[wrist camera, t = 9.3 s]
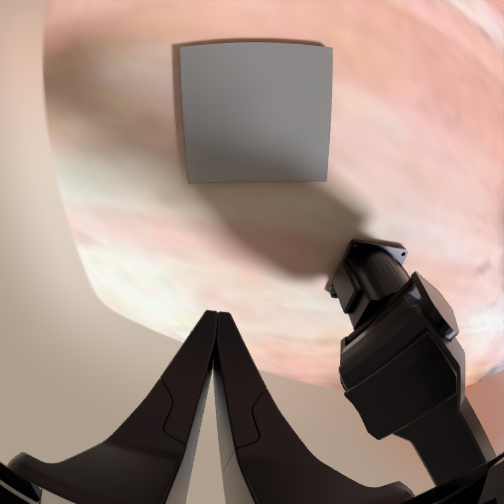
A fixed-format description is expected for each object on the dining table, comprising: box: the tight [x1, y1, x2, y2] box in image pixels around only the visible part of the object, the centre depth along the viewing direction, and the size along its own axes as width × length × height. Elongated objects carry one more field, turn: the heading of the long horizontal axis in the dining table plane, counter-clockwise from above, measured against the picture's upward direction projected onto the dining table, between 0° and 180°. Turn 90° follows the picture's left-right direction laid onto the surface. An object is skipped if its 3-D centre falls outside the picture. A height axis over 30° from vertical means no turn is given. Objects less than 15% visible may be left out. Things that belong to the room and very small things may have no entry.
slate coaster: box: [180, 42, 333, 184], centre depth 17 cm, size 10×10×1 cm
